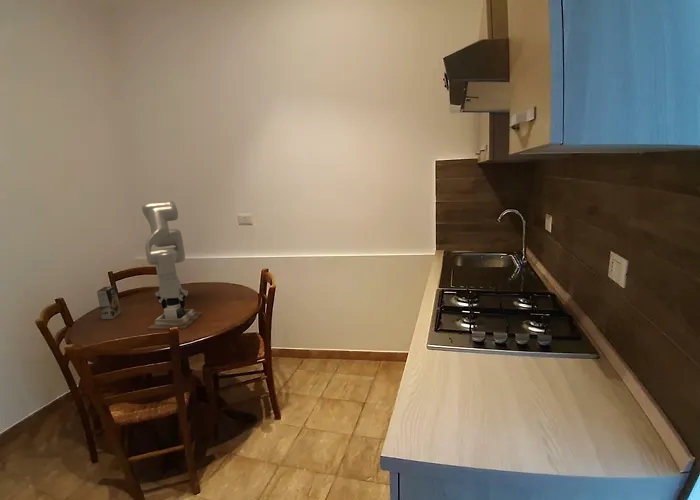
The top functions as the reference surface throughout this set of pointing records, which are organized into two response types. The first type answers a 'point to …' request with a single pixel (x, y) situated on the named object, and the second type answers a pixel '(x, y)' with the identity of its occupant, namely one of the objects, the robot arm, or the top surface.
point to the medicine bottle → (173, 309)
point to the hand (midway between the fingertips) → (173, 307)
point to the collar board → (176, 321)
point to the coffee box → (108, 302)
